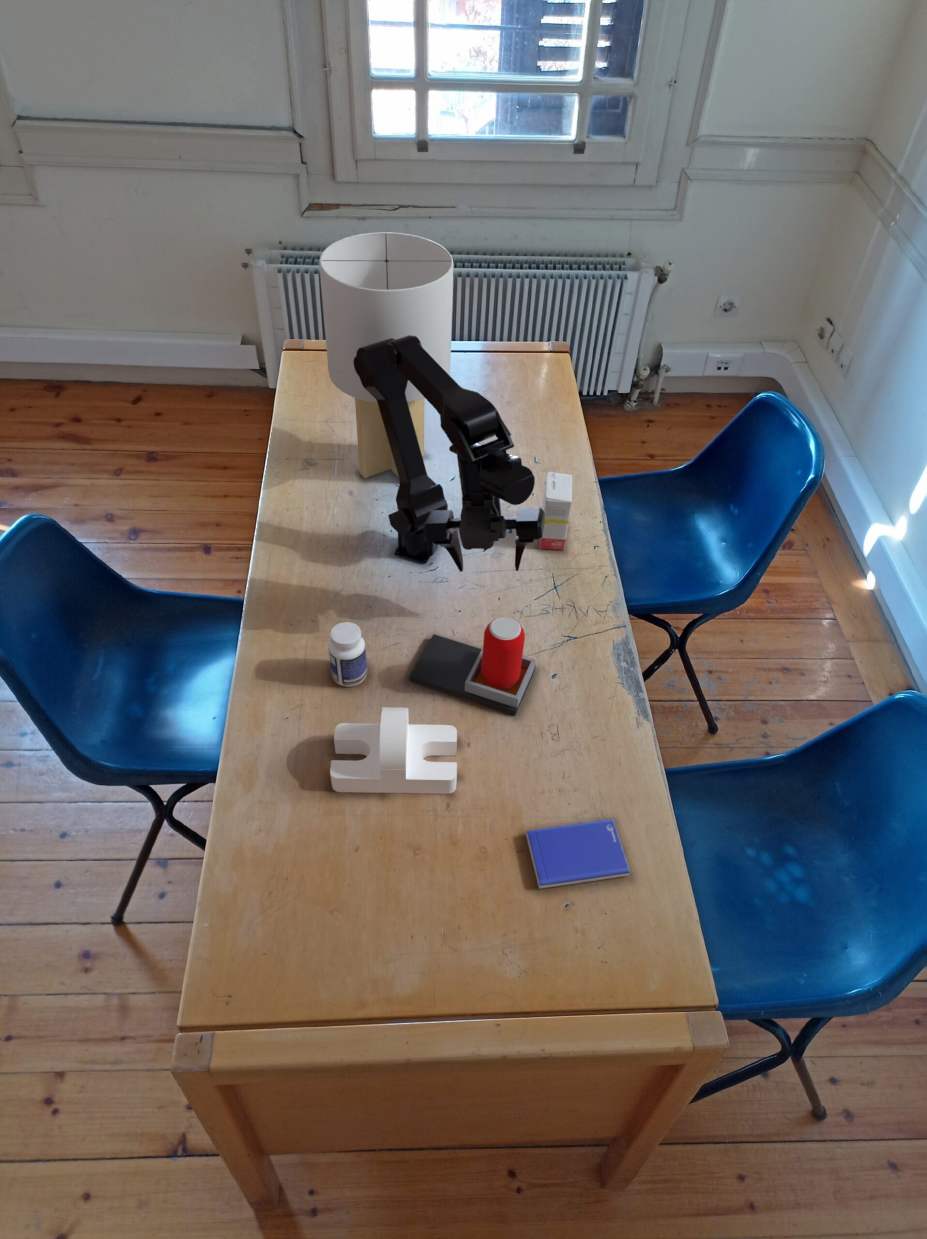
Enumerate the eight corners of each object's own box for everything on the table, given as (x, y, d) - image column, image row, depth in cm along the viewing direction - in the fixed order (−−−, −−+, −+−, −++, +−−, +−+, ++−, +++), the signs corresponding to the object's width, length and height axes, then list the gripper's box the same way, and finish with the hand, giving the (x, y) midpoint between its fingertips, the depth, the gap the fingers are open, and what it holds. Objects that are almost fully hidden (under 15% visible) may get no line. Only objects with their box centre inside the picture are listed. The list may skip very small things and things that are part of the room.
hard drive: (612, 817, 120) (526, 829, 119) (630, 871, 115) (540, 884, 113) (611, 823, 121) (525, 835, 120) (628, 876, 116) (539, 889, 114)
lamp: (469, 475, 176) (479, 270, 145) (372, 513, 166) (361, 302, 135) (410, 421, 188) (408, 222, 157) (316, 453, 179) (295, 248, 148)
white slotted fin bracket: (337, 737, 130) (332, 692, 122) (456, 739, 130) (458, 695, 123) (331, 792, 123) (325, 748, 116) (456, 793, 124) (458, 750, 116)
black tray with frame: (409, 681, 138) (409, 667, 136) (433, 638, 145) (433, 624, 142) (515, 715, 134) (517, 702, 132) (534, 670, 140) (537, 657, 138)
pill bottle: (372, 666, 140) (370, 624, 133) (358, 692, 136) (355, 650, 129) (340, 657, 141) (336, 615, 134) (325, 682, 137) (320, 640, 130)
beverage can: (514, 696, 135) (521, 646, 126) (476, 688, 136) (480, 637, 127) (522, 668, 139) (529, 617, 130) (485, 660, 140) (489, 608, 131)
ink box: (564, 551, 161) (572, 502, 152) (538, 549, 161) (545, 499, 152) (565, 522, 167) (572, 472, 158) (539, 520, 167) (546, 470, 158)
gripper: (409, 510, 127) (424, 597, 136) (535, 506, 123) (542, 597, 132) (424, 476, 136) (437, 561, 144) (541, 472, 132) (548, 559, 141)
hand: (489, 570), depth 140 cm, fingers open, 9 cm apart
